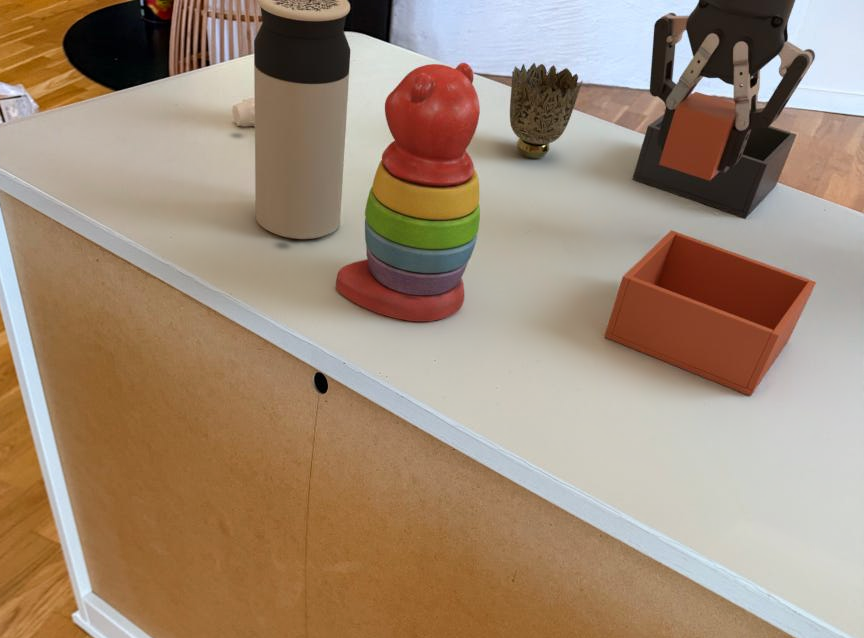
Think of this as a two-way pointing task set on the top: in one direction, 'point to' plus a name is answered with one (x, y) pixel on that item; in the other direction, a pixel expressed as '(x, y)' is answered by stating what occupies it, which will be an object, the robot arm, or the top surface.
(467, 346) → the top surface
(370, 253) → the stacking bear
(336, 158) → the travel mug
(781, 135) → the charcoal bin
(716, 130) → the terracotta block
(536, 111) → the cup
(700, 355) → the terracotta bin
